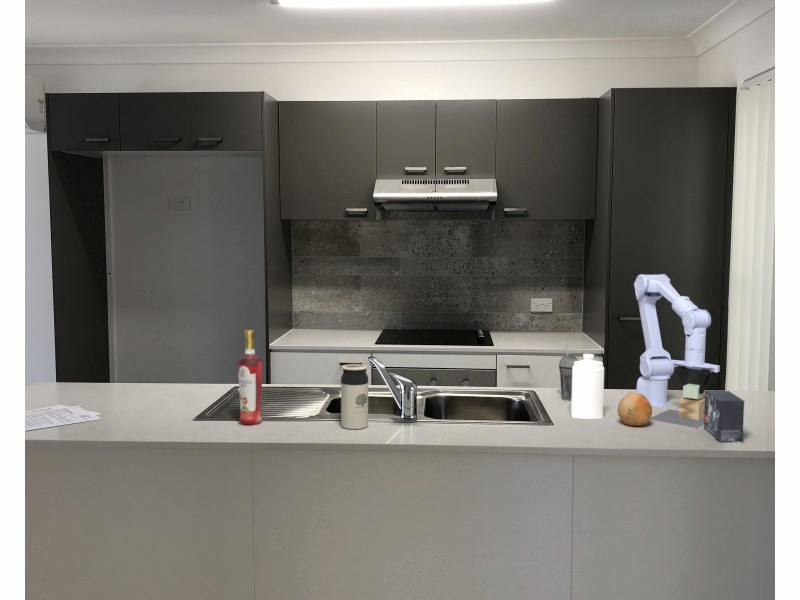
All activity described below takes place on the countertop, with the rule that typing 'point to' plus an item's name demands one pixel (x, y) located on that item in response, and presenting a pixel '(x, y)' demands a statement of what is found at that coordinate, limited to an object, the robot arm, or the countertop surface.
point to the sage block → (691, 391)
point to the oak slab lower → (691, 414)
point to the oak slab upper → (692, 403)
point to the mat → (677, 419)
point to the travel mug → (354, 396)
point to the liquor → (250, 383)
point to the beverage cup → (566, 375)
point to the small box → (724, 416)
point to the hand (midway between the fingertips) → (693, 392)
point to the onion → (634, 409)
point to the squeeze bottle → (587, 388)
